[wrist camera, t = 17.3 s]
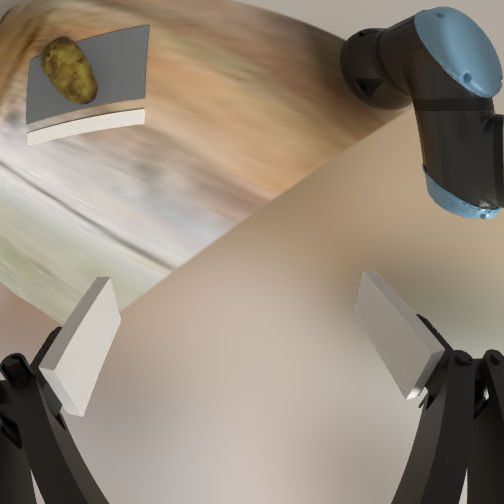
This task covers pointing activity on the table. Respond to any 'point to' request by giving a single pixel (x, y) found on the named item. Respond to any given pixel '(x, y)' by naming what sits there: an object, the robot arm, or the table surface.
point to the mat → (95, 74)
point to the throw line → (87, 125)
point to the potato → (69, 71)
